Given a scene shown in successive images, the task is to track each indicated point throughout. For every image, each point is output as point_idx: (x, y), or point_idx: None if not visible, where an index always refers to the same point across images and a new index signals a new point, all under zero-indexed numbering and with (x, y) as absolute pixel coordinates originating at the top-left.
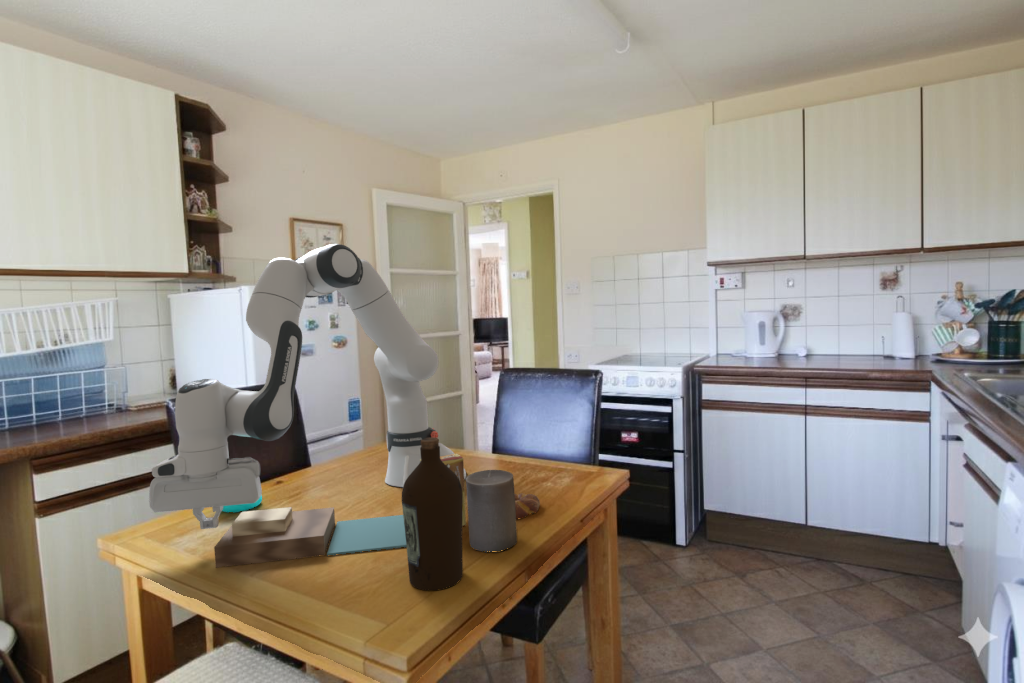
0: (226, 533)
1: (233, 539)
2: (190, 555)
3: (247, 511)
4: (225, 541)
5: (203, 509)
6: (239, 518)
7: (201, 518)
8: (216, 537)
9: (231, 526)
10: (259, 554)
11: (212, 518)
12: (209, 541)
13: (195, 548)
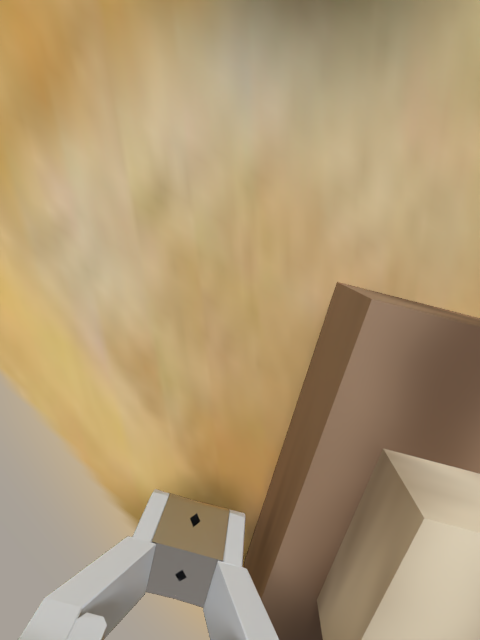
0: (287, 548)
1: (319, 633)
2: (142, 416)
3: (468, 533)
4: (283, 634)
5: (104, 634)
6: (388, 635)
7: (125, 613)
8: (225, 258)
9: (315, 462)
10: None
11: (203, 579)
12: (198, 297)
13: (149, 352)
